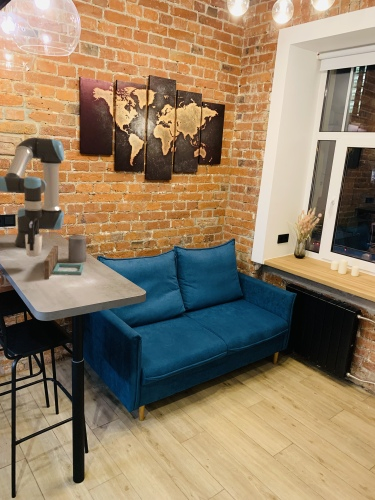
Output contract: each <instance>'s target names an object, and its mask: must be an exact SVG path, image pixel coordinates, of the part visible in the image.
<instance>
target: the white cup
mask: <svg viewBox="0 0 375 500" xmlns="http://www.w3.org/2000/svg"><path fill="white" fill-rule="evenodd" d="M25 242H26V248H25V249H26V256H28V257H30V256H29V244H27V243H28V234H26V235H25ZM34 244H35V257H38V256H39V257H40V256H41V255H42V247H43V246H42V244H43V234H42V233H39V234H37V235H35V241H34Z"/></svg>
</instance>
